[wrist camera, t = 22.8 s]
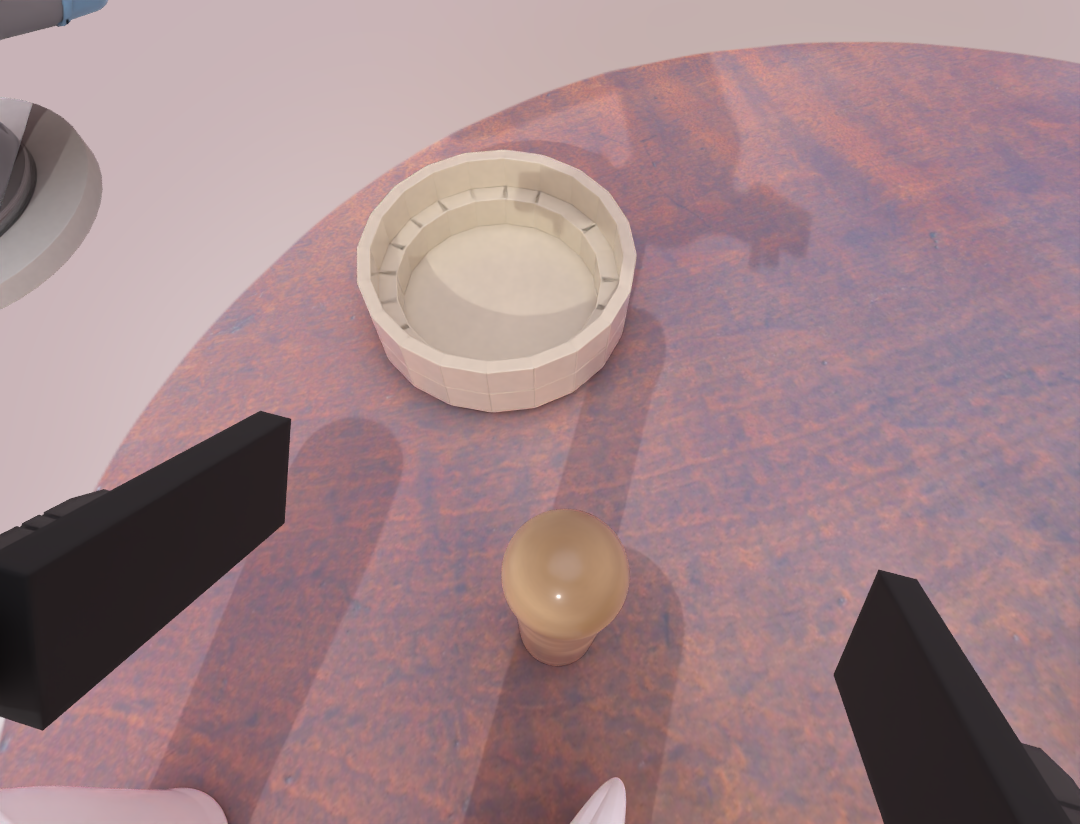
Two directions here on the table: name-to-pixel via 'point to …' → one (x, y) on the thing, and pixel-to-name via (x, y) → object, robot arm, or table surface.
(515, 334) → the bowl
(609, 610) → the pestle
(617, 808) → the mug
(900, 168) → the table surface
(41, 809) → the drinking glass
